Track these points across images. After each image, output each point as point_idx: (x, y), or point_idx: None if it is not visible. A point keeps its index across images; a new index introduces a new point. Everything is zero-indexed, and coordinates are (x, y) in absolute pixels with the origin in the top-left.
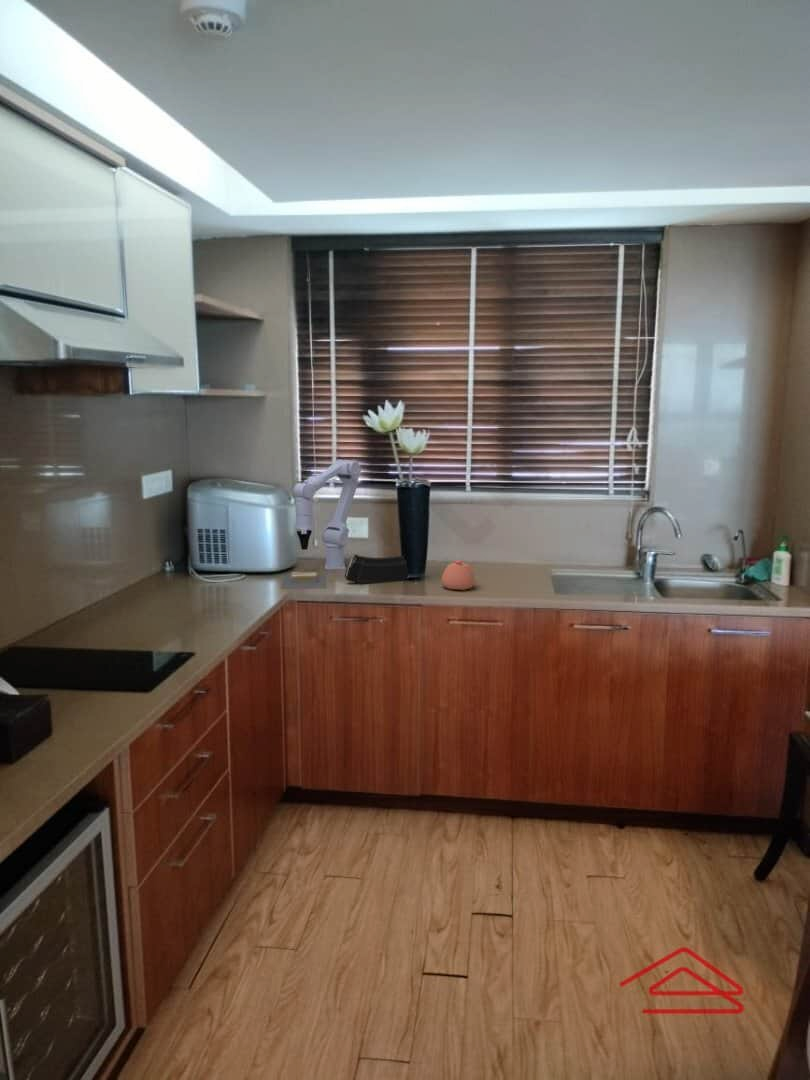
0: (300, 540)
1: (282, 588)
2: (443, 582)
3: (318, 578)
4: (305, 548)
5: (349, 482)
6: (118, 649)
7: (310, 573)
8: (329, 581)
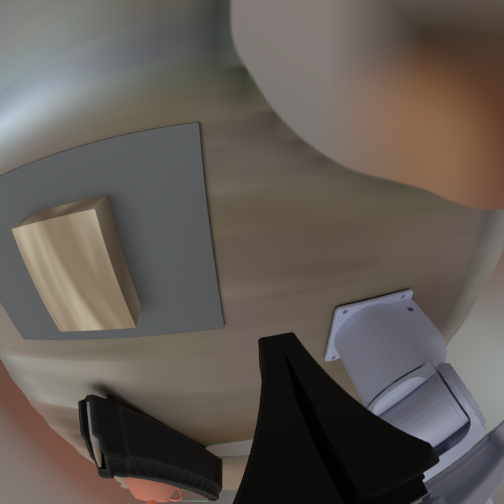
0: (256, 427)
1: None
2: None
3: (139, 312)
4: (260, 369)
5: None
6: None
7: (92, 307)
8: (117, 345)
